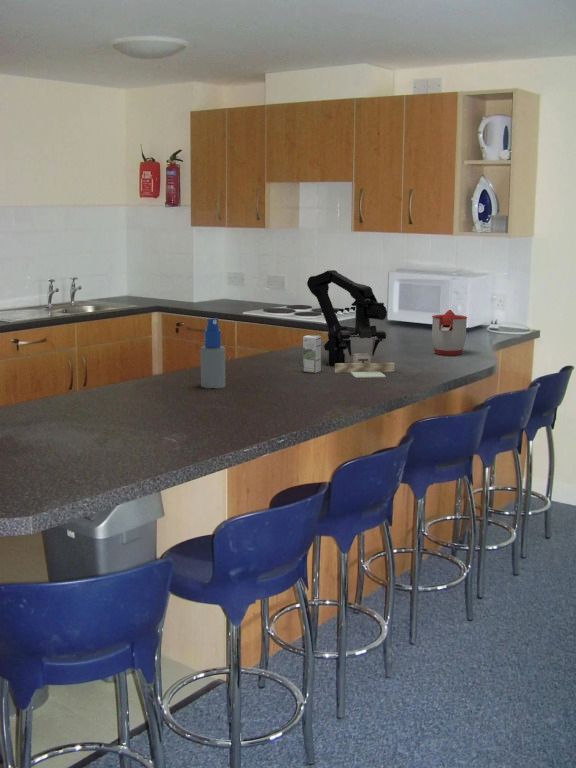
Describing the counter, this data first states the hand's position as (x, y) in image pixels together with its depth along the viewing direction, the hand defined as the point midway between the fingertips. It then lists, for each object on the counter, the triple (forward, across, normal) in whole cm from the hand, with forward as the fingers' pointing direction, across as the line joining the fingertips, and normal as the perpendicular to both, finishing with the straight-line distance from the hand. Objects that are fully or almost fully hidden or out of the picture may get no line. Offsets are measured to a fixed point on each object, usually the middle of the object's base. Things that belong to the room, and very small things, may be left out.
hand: (361, 355), depth 356 cm
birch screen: (+5, 0, -7) cm, 9 cm away
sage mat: (+5, 0, -14) cm, 15 cm away
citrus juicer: (+6, +46, +34) cm, 57 cm away
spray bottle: (+6, -61, -30) cm, 68 cm away
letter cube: (+6, 0, 0) cm, 6 cm away
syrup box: (+6, -21, -4) cm, 22 cm away
